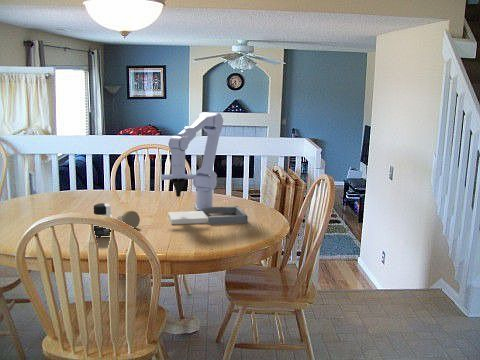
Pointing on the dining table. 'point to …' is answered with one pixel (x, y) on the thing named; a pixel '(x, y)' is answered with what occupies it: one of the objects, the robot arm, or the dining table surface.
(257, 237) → the dining table surface
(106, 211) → the medicine bottle
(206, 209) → the box
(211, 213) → the tile
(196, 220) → the board
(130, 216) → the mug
